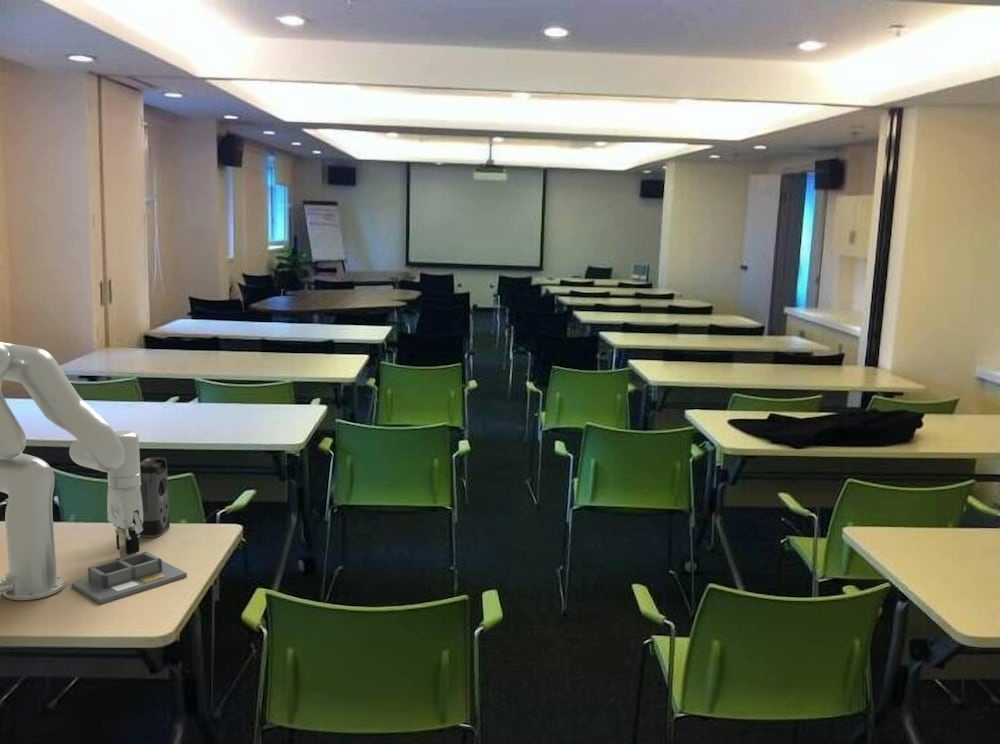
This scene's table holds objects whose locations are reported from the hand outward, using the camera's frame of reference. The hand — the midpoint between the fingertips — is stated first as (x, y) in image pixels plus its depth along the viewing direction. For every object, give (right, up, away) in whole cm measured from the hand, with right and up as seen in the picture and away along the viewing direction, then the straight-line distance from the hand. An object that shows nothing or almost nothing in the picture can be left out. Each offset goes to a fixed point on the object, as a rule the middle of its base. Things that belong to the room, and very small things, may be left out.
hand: (128, 550), depth 222 cm
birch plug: (0, -2, 0) cm, 2 cm away
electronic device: (-1, +1, +19) cm, 19 cm away
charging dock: (+6, -5, -14) cm, 16 cm away
